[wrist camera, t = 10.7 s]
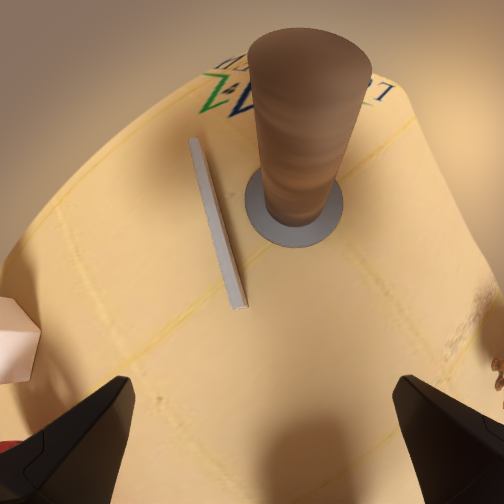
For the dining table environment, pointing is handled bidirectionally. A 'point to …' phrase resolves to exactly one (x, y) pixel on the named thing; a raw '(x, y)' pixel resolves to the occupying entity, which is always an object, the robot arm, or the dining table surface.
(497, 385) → the lion figurine
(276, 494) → the dining table surface
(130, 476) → the dining table surface
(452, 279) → the dining table surface
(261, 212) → the resting pad
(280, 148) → the pepper mill
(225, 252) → the low wall
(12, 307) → the medicine bottle
